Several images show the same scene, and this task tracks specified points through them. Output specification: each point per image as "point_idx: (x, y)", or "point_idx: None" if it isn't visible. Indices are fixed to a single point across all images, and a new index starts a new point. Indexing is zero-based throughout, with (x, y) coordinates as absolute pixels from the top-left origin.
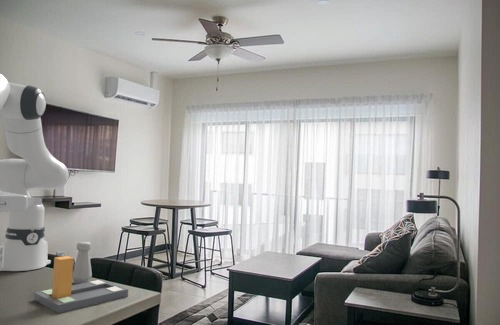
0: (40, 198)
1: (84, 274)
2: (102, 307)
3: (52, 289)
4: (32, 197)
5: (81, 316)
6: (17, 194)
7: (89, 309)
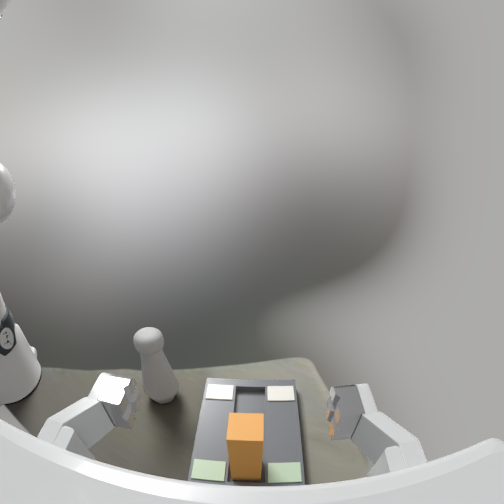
0: (368, 388)
1: (175, 386)
2: (322, 435)
3: (232, 473)
4: (344, 414)
5: (344, 473)
6: (464, 486)
7: (318, 453)
